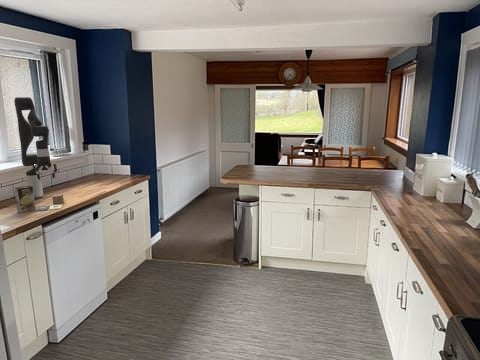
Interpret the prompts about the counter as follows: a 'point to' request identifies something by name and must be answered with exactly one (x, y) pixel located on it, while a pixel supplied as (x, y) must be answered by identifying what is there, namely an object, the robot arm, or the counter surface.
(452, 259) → the counter surface
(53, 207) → the pad
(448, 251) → the counter surface
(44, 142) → the robot arm
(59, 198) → the block
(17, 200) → the coffee box
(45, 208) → the pad
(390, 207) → the counter surface
